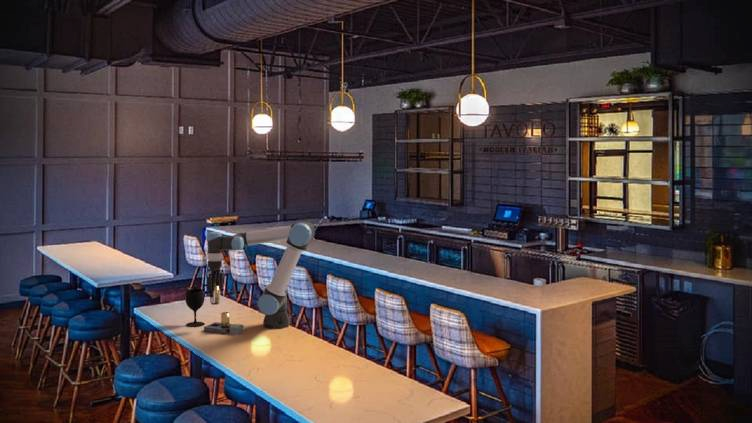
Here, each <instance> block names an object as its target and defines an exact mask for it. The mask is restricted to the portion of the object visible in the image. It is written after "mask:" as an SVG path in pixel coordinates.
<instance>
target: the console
mask: <svg viewBox="0 0 752 423" xmlns="http://www.w3.org/2000/svg"><path fill="white" fill-rule="evenodd" d="M238 324H239V327H234V325H232V326H230V332H229V335H235V334H236V335H237V336H238V335H240V334H243V333H244V330H245V328H244V327H245V326H244V324H240V323H238Z"/></svg>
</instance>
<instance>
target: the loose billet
mask: <svg viewBox="0 0 752 423" xmlns="http://www.w3.org/2000/svg"><path fill="white" fill-rule="evenodd" d="M214 291H215V303H210V304H211V305H213V306H214V305H216V306H217V305H219V304H220V301H219V286H218V285H216V284H215V285H214Z"/></svg>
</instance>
